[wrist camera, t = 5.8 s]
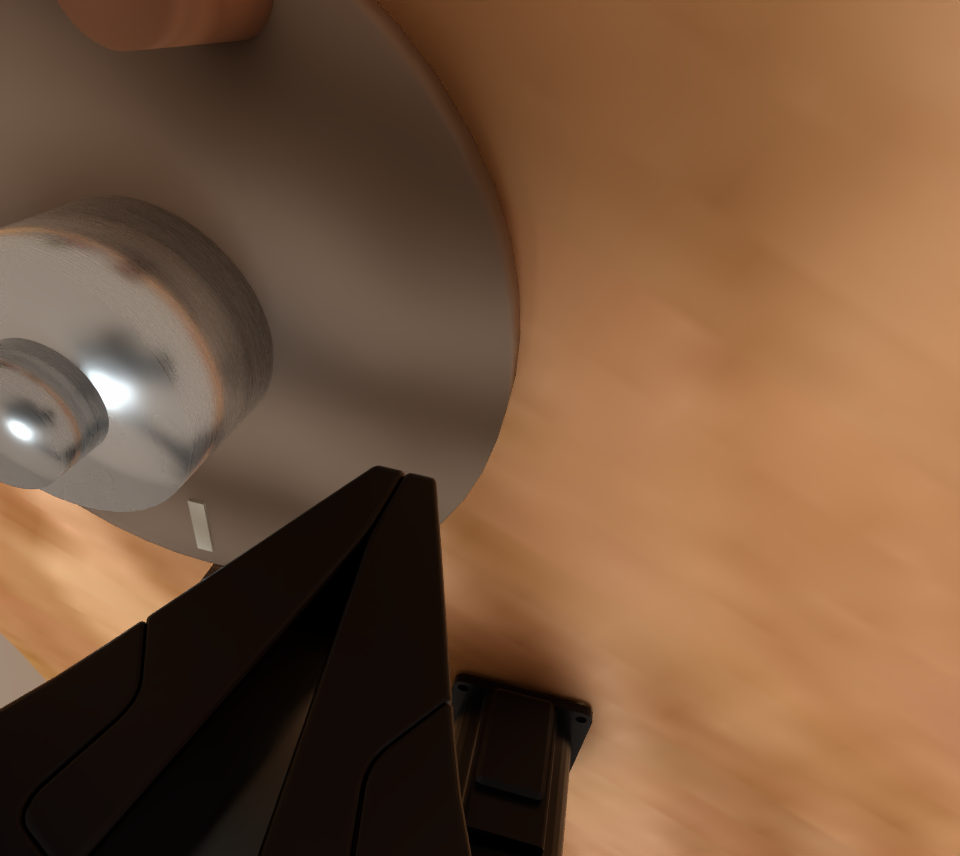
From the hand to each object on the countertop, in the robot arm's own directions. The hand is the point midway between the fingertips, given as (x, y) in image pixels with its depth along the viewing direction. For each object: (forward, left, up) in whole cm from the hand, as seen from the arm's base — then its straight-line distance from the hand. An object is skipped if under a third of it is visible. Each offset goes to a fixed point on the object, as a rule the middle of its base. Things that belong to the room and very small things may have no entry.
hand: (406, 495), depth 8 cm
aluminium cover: (-3, +10, -8) cm, 13 cm away
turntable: (-3, +9, -9) cm, 14 cm away
